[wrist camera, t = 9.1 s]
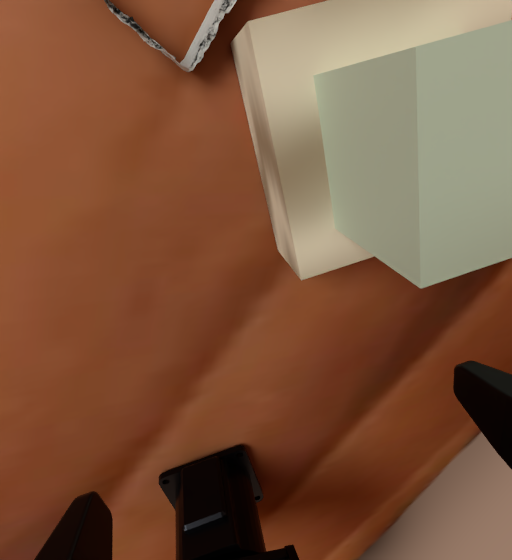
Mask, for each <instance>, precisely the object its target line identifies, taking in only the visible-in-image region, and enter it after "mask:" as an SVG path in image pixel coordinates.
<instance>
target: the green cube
mask: <svg viewBox="0 0 512 560" xmlns="http://www.w3.org/2000/svg"><path fill="white" fill-rule="evenodd" d="M313 76H314V83H315V90H316V97H317V104H318V111H319V118H320V125H321V132H322V139H323V146H324V154H325V161H326V168H327V175H328V182H329V189H330V196H331V203H332V210H333V217H334V224H335V229H336V230H338V231H339V232H341V233H342V234H344V235H345V236H346V237H348V238H349V239H351V240H352V241H354V242H355V243H356V244H358V245H359V246H361V247H362V248H364V249H365V250H366V251H368V252H369V253H371V254H372V255H374V256H375V257H376V258H378V259H379V260H381V261H382V262H383V263H385V264H386V265H388V266H389V267H391V268H392V269H393V270H395V271H396V272H398V273H399V274H401V275H402V276H403V277H405V278H406V279H408V280H409V281H411V282H412V283H413V284H415V285H416V286H418V287H419V288H424V287H427V286H430V285H433V284H436V283H439V282H442V281H445V280H448V279H451V278H454V277H457V276H460V275H462V274H465V273H468V272H471V271H474V270H477V269H480V268H483V267H486V266H489V265H492V264H495V263H498V262H501V261H504V260H507V259H510V258H512V20H510V21H507V22H503V23H499V24H496V25H492V26H489V27H485V28H481V29H478V30H474V31H470V32H467V33H463V34H460V35H456V36H452V37H449V38H445V39H442V40H438V41H434V42H431V43H427V44H423V45H420V46H416V47H413V48H409V49H406V50H402V51H398V52H395V53H391V54H388V55H384V56H381V57H377V58H373V59H370V60H366V61H363V62H359V63H356V64H352V65H349V66H345V67H341V68H338V69H334V70H331V71H327V72H324V73H320V74H316V75H313Z"/></svg>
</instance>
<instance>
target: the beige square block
mask: <svg viewBox="0 0 512 560" xmlns="http://www.w3.org/2000/svg"><path fill="white" fill-rule="evenodd" d="M511 16H512V0H329V1H325V2H321V3H317V4H313V5H309V6H305V7H301V8H298V9H294V10H290V11H286V12H282V13H278V14H274V15H271V16H267V17H263V18H259V19H255V20H251V21H248V22H247V23H246V24H245V26H244V27H243V28H242V29H241V31H240V32H239V33H238V34H237V36H236V37H235V38H234V39H233V41H232V42H231V43H230V45H231V49H232V53H233V58H234V62H235V66H236V71H237V75H238V79H239V84H240V88H241V92H242V96H243V101H244V105H245V109H246V114H247V118H248V122H249V127H250V131H251V135H252V140H253V144H254V148H255V153H256V157H257V161H258V166H259V170H260V174H261V179H262V183H263V187H264V192H265V196H266V200H267V205H268V209H269V213H270V218H271V222H272V226H273V231H274V235H275V239H276V244H277V248H278V251H279V252H280V254H281V255H282V256H283V257H284V259H285V260H286V261H287V263H288V264H289V265H290V267H291V268H292V269H293V270H294V272H295V273H296V274H297V276H298V277H299V278H300V279H301V280H304V279H307V278H310V277H313V276H316V275H319V274H322V273H325V272H328V271H331V270H335V269H338V268H341V267H344V266H347V265H350V264H353V263H356V262H359V261H362V260H365V259H368V258H371V257H374V255H372V254H371V253H369V252H368V251H366V250H365V249H364V248H362V247H361V246H359V245H358V244H356V243H355V242H354V241H352V240H351V239H349V238H348V237H346V236H345V235H344V234H342V233H341V232H339V231H338V230H336V229H335V224H334V217H333V210H332V203H331V196H330V189H329V182H328V175H327V168H326V161H325V154H324V146H323V139H322V132H321V125H320V118H319V111H318V104H317V97H316V90H315V83H314V76H313V75H316V74H320V73H324V72H327V71H331V70H334V69H338V68H341V67H345V66H349V65H352V64H356V63H359V62H363V61H366V60H370V59H373V58H377V57H381V56H384V55H388V54H391V53H395V52H398V51H402V50H406V49H409V48H413V47H416V46H420V45H423V44H427V43H431V42H434V41H438V40H442V39H445V38H449V37H452V36H456V35H460V34H463V33H467V32H470V31H474V30H478V29H481V28H485V27H489V26H492V25H496V24H499V23H503V22H507V21H510V20H511Z"/></svg>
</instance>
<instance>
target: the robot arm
mask: <svg viewBox="0 0 512 560" xmlns="http://www.w3.org/2000/svg"><path fill="white" fill-rule="evenodd" d="M453 389H454V393H455V396H456V397H457V399H458V400H459V402H460V403H461V404H462V406H463V407H464V409H465V410H466V411H467V413H468V414H469V415H470V417H471V418H472V419H473V421H474V422H475V423H476V425H477V426H478V428H479V429H480V430H481V432H482V433H483V434H484V436H485V437H486V438H487V440H488V441H489V442H490V444H491V445H492V446H493V448H494V449H495V450H496V452H497V453H498V454H499V455H500V456H501V458H502V459H503V460H504V461H505V462H506V463H507V465H508V466H509V467H510V468H511V469H512V375H511V374H509V373H506V372H503V371H500V370H497V369H495V368H492V367H489V366H486V365H484V364H481V363H478V362H475V361H467V362H464V363H461V364H458V365H456V367H455V368H454V385H453ZM159 485H160V487H161V488H162V490H163V491H164V493H165V495H166V496H167V498H168V499H169V501H170V503H171V504H172V506H173V507H174V509H175V511H176V560H299V558H298V555H297V553H296V550H295V548H294V546H293V545H288V546H285V547H284V548H282V549H277V550H272V551H267V552H266V548H265V543H264V539H263V534H262V529H261V525H260V520H259V515H258V511H257V506H256V502H259V501H261V500H262V499H263V492H262V489H261V487H260V484H259V482H258V479H257V477H256V474H255V472H254V469H253V467H252V464H251V462H250V459H249V456H248V454H247V451H246V449H245V447H244V446H236V447H233V448H230V449H227V450H225V451H222V452H219V453H216V454H214V455H211V456H208V457H205V458H203V459H200V460H197V461H194V462H192V463H189V464H186V465H183V466H181V467H178V468H175V469H172V470H169V471H167V472H164V473H162V474H161V475H160V476H159ZM34 560H112V515H111V512H110V510H109V508H108V507H107V506H106V504H105V503H104V501H103V500H102V498H101V497H100V496H99V494H98V493H97V492H95V491H92V492H89V493H86V494H83V495H80V496H78V497H77V498H75V500H74V501H73V502H72V503H71V505H70V506H69V508H68V509H67V511H66V512H65V514H64V515H63V517H62V518H61V520H60V521H59V523H58V525H57V526H56V528H55V529H54V531H53V532H52V534H51V535H50V537H49V538H48V540H47V541H46V543H45V544H44V546H43V547H42V549H41V550H40V552H39V553H38V555H37V556H36V558H35V559H34Z"/></svg>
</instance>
